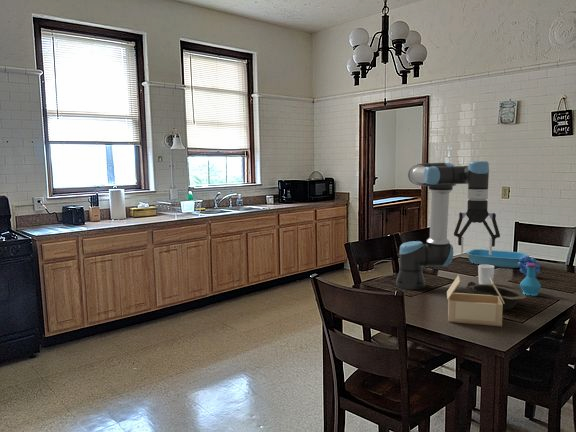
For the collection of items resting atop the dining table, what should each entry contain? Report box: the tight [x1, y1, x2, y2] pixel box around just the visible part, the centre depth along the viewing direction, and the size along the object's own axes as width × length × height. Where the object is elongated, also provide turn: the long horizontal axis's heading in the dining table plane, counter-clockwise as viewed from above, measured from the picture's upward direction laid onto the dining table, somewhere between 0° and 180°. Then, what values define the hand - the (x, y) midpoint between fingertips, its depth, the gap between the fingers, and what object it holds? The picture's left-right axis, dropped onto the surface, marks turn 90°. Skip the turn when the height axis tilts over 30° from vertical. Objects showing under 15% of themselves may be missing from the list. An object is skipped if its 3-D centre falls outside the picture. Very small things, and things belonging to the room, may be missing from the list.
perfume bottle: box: [519, 263, 542, 297], centre depth 226 cm, size 9×9×15 cm
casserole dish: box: [465, 248, 530, 269], centre depth 292 cm, size 37×22×7 cm, turn 55°
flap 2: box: [489, 277, 505, 304], centre depth 188 cm, size 9×11×1 cm
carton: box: [447, 292, 504, 327], centre depth 191 cm, size 20×13×9 cm, turn 72°
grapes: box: [517, 255, 541, 278], centre depth 258 cm, size 12×7×12 cm, turn 57°
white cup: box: [477, 264, 495, 285], centre depth 244 cm, size 8×8×10 cm
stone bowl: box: [465, 281, 527, 311], centre depth 210 cm, size 25×25×9 cm
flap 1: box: [446, 274, 461, 301], centre depth 193 cm, size 9×11×1 cm
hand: (475, 253), depth 189 cm, fingers open, 10 cm apart
